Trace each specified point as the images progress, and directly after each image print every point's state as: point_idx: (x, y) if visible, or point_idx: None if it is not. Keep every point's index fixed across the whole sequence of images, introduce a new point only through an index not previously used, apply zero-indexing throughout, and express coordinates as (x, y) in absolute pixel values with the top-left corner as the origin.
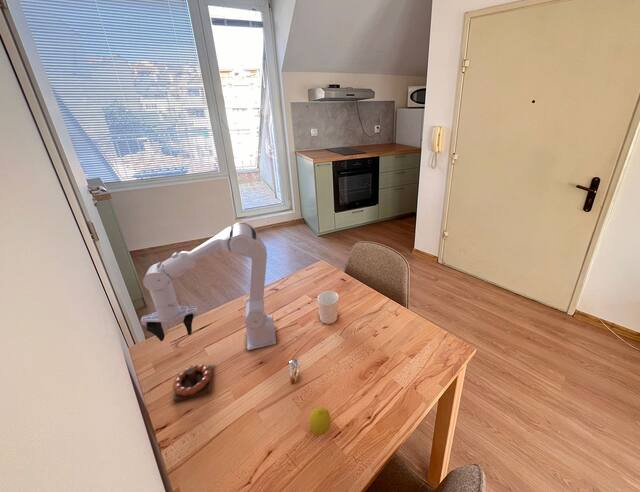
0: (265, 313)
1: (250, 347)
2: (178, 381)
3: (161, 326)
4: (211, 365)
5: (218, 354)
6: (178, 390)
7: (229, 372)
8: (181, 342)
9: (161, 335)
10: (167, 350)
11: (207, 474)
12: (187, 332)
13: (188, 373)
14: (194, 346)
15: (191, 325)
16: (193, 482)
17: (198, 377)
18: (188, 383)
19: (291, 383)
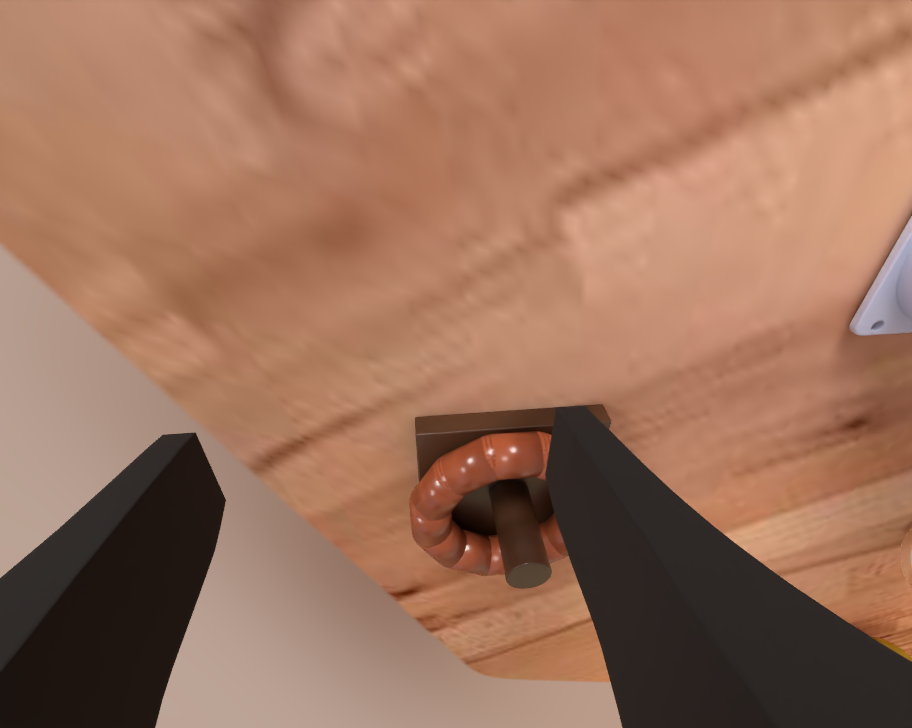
0: None
1: (878, 318)
2: (440, 536)
3: (64, 609)
4: (609, 423)
5: (654, 310)
6: (451, 568)
7: (683, 445)
8: (308, 38)
9: (185, 580)
10: (196, 133)
11: (556, 670)
12: (565, 542)
13: (517, 585)
14: (466, 159)
15: (639, 472)
16: (523, 677)
17: (532, 477)
18: (481, 497)
19: (909, 583)
